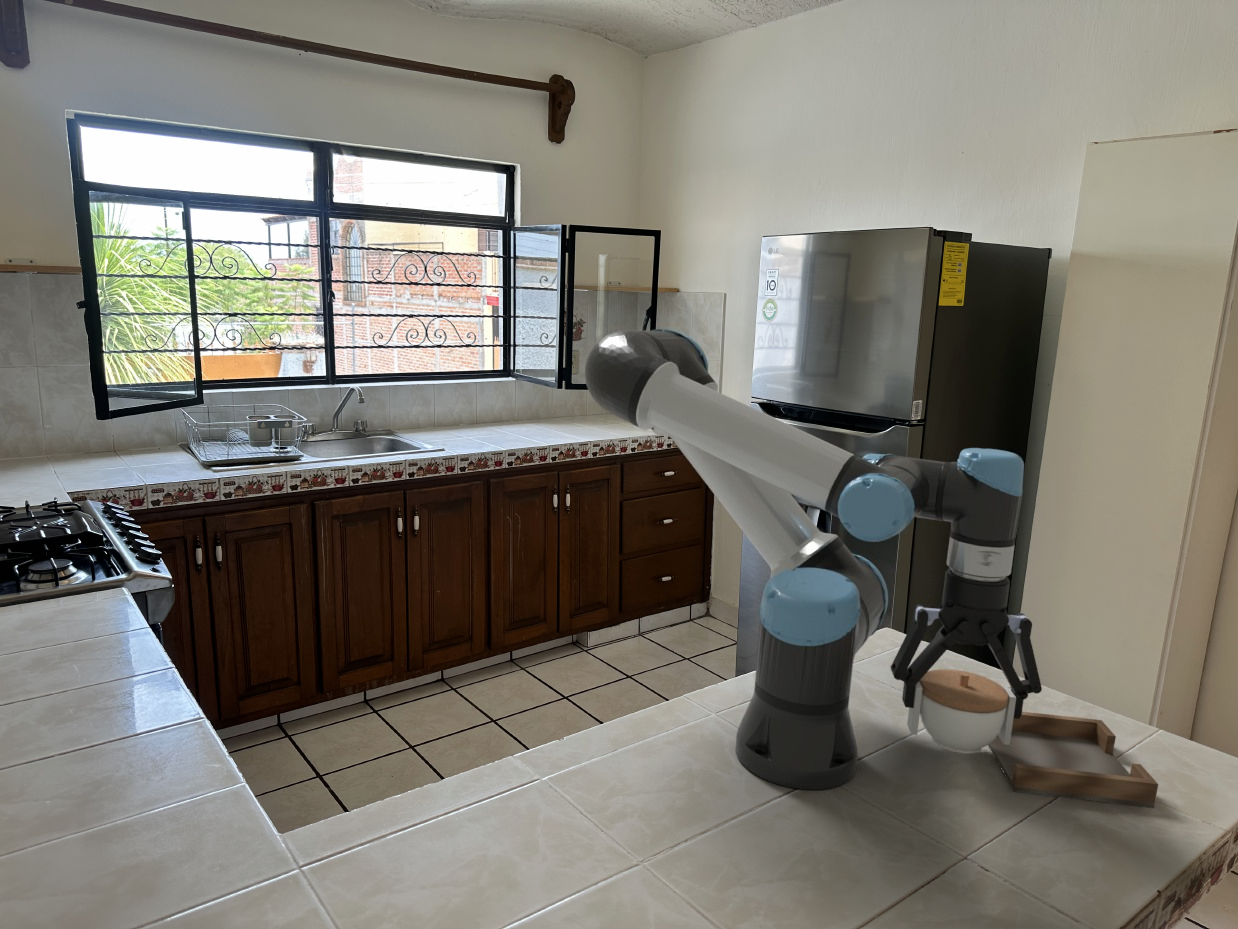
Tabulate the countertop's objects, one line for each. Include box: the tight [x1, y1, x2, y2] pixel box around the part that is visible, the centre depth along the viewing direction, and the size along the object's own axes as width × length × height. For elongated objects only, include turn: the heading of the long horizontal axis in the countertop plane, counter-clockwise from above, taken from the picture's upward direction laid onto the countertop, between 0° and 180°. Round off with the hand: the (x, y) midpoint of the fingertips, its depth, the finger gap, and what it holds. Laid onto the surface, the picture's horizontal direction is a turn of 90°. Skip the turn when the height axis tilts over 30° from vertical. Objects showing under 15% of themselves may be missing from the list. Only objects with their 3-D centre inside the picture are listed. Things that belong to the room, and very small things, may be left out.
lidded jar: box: [919, 668, 1009, 755], centre depth 109 cm, size 11×11×9 cm
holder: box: [987, 711, 1159, 809], centre depth 108 cm, size 16×16×3 cm
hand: (957, 734), depth 110 cm, fingers closed on lidded jar, 11 cm apart
